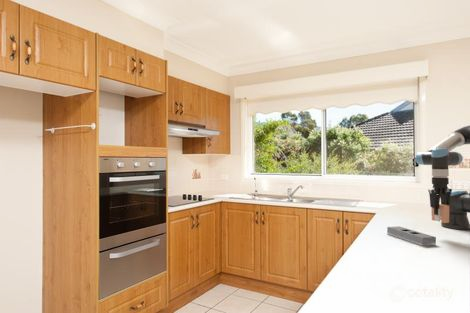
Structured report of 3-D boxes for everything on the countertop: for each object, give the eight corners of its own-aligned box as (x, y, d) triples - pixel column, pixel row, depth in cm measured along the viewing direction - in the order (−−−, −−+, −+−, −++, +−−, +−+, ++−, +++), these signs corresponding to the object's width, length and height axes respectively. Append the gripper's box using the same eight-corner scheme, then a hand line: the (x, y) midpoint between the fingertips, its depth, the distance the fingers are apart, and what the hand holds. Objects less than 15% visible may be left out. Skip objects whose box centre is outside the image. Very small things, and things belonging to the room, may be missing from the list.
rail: (399, 233, 175) (399, 226, 175) (435, 245, 152) (435, 237, 152) (387, 234, 173) (387, 226, 173) (422, 246, 150) (422, 237, 150)
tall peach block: (436, 219, 169) (435, 203, 169) (449, 222, 161) (449, 205, 161) (431, 219, 168) (431, 203, 168) (444, 223, 161) (444, 205, 161)
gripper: (445, 176, 170) (446, 218, 170) (421, 176, 166) (422, 220, 167) (458, 177, 163) (458, 221, 163) (433, 177, 159) (434, 223, 159)
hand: (440, 220), depth 165 cm, fingers closed on tall peach block, 3 cm apart
